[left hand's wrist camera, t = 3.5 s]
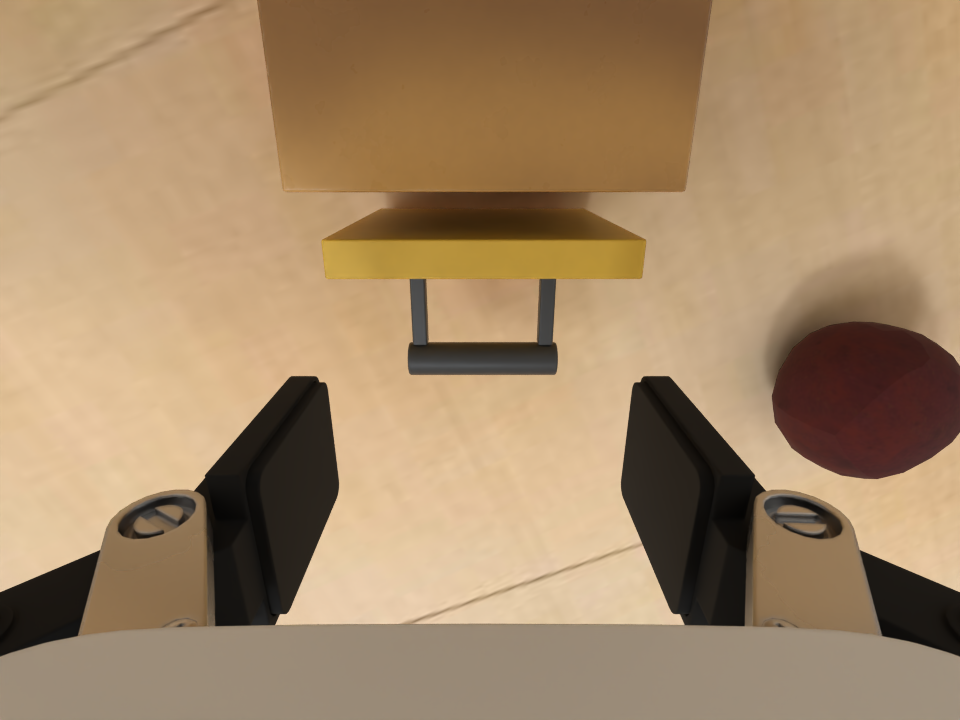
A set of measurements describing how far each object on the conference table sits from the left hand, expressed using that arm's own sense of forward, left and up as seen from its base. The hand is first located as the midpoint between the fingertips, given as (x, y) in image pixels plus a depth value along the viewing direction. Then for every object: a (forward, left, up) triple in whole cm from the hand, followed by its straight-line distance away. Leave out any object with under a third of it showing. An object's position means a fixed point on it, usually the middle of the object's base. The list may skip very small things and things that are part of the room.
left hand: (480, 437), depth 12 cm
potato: (+16, +10, -16) cm, 25 cm away
